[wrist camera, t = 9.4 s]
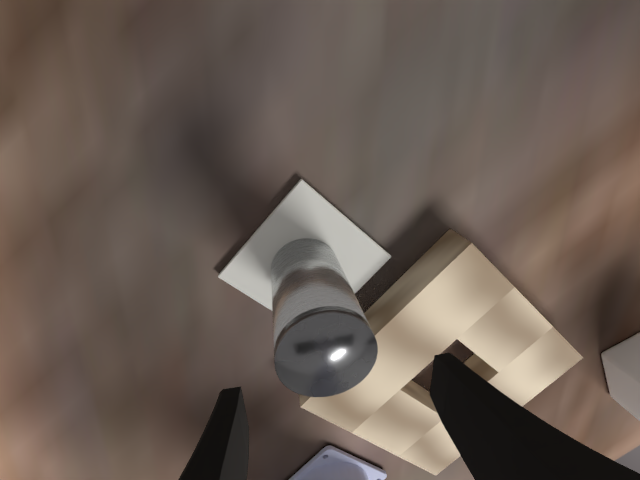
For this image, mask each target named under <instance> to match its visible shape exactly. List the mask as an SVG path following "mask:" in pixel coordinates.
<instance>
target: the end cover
mask: <svg viewBox="0 0 640 480" xmlns="http://www.w3.org/2000/svg"><path fill="white" fill-rule="evenodd" d="M271 288H272V312H273V335H274V359H275V369H276V373H277V375H278V377H279V379H280V380H281V382H282V383H283V384H284V385H285V386H286V387H287V388H289V389H290V390H292V391H293V392H296V393H298V394H301V395H304V396H309V397H328V396H333V395H337V394H340V393H343V392H345V391H347V390H349V389H351V388H353V387H354V386H356V385H357V384H359V383H360V382H361V381H362V380H363V379H364V378H365V377H366V376H367V375H368V374H369V373H370V371H371V370H372V368H373V366H374V364H375V362H376V359H377V353H378V346H377V341H376V338H375V336H374V334H373V331H372V329H371V327H370V325H369V323H368V321H367V319H366V317H365V315H364V313H363V311H362V309H361V307H360V304H359V302H358V300H357V298H356V296H355V294H354V292H353V290H352V288H351V286H350V284H349V282H348V279H347V277H346V275H345V273H344V271H343V269H342V267H341V265H340V263H339V261H338V259H337V257H336V255H335V253H334V251H333V250H332V249H331V248H330V247H329V246H328V245H327V244H326V243H324V242H322V241H320V240H317V239H312V238H302V239H297V240H294V241H291V242H289V243H287V244H286V245H284V246H283V247H282V248H281V249H280V250H279V251H278V252H277V253H276V255H275V256H274V258H273V261H272V264H271Z"/></svg>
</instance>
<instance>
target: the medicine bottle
mask: <svg viewBox="0 0 640 480" xmlns="http://www.w3.org/2000/svg"><path fill="white" fill-rule="evenodd" d="M601 357H602V362H603V366H604V371H605V375H606V379H607V384H608V388H609V393H610V396H611V397H612V398H613V399H614V400H615V401H616V402H618V403H619V404H620V405H621V406H622V407H624V408H625V409H626V410H627V411H628V412H630V413H631V414H632V415H633V416H634V417H635V418H637V419H638V420H639V421H640V332H639V333H637V334H635V335H633V336H632V337H630V338H628V339H626V340H624V341H622V342H621V343H619V344H617V345H615V346H613V347H611V348H610V349H608V350H606V351H604V352H602V353H601Z"/></svg>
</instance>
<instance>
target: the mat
mask: <svg viewBox="0 0 640 480" xmlns="http://www.w3.org/2000/svg"><path fill="white" fill-rule="evenodd" d="M302 238H312V239H317V240H320V241H322V242H324V243H326V244H327V245H328V246H329V247H330V248H331V249H332V250H333V251H334V253H335V255H336V257H337V259H338V261H339V263H340V265H341V267H342V269H343V271H344V273H345V275H346V277H347V279H348V282H349V284H350V286H351V288H352V290H353V292H354V294H355V293H356V292H357V291H358V290H359V289H360V288H361V287H362V286H363V285H364V284H365V283H366V282H367V281H368V280H369V279H370V278H371V277H372V276H373V275H374V274H375V273H376V272H377V271H378V270H379V269H380V268H381V267H382V266H383V265H384V264H385V263H386V262H387V261H388V260H389V259H390V258H391V255H390V254H389V253H388V252H386V251H385V250H384V249H383V248H382V247H381V246H379V245H378V244H377V243H376V242H375V241H374V240H372V239H371V238H370V237H369V236H368V235H367V234H365V233H364V232H363V231H362V230H361V229H360V228H359V227H357V226H356V225H355V224H354V223H353V222H352V221H350V220H349V219H348V218H347V217H346V216H345V215H343V214H342V213H341V212H340V211H339V210H338V209H336V208H335V207H334V206H333V205H332V204H331V203H329V202H328V201H327V200H326V199H325V198H324V197H322V196H321V195H320V194H319V193H318V192H317V191H315V190H314V189H313V188H312V187H311V186H310V185H308V184H307V183H306V182H305V181H304V180H303V179H302V178H301V179H300V180H299V181H298V183H297V184H296V185H295V186H294V187H293V188H292V190H291V191H290V192H289V193H288V194H287V195H286V197H285V198H284V199H283V200H282V201H281V202H280V203H279V205H278V206H277V207H276V208H275V209H274V210H273V212H272V213H271V214H270V215H269V216H268V217H267V219H266V220H265V221H264V222H263V223H262V224H261V226H260V227H259V228H258V229H257V230H256V231H255V233H254V234H253V235H252V236H251V237H250V238H249V240H248V241H247V242H246V243H245V244H244V245H243V246H242V248H241V249H240V250H239V251H238V252H237V253H236V255H235V256H234V257H233V258H232V259H231V260H230V262H229V263H228V264H227V265H226V266H225V267H224V269H223V270H222V271H221V272H220V273H219V275H218V277H219V278H220V279H222V280H224V281H225V282H227V283H228V284H230V285H232V286H233V287H235V288H236V289H238V290H240V291H241V292H243V293H244V294H246V295H248V296H249V297H251V298H252V299H254V300H256V301H257V302H259V303H260V304H262V305H264V306H265V307H267V308H268V309H270V310H272V288H271V264H272V261H273V258H274V256H275V255H276V253H277V252H278V251H279V250H280V249H281V248H282V247H283V246H284V245H286V244H287V243H289V242H291V241H294V240H297V239H302Z"/></svg>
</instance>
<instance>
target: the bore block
mask: <svg viewBox="0 0 640 480" xmlns="http://www.w3.org/2000/svg"><path fill="white" fill-rule="evenodd" d="M364 315H365V317H366V319H367V321H368V323H369V325H370V327H371V329H372V331H373V334H374V336H375V338H376V341H377V346H378V353H377V359H376V362H375V364H374V366H373V368H372V370H371V371H370V373H369V374H368V375H367V376H366V377H365V378H364V379H363V380H362V381H361V382H360V383H359V384H357V385H356V386H354V387H353V388H351V389H349V390H347V391H345V392H343V393H340V394H337V395H333V396H328V397H309V396H304V395H301V394H299V400H300V407H301V408H303V409H305V410H307V411H309V412H311V413H313V414H315V415H317V416H319V417H321V418H323V419H325V420H327V421H329V422H331V423H333V424H335V425H337V426H339V427H341V428H343V429H345V430H347V431H349V432H351V433H353V434H355V435H357V436H359V437H361V438H363V439H365V440H367V441H369V442H371V443H373V444H374V445H376V446H378V447H380V448H382V449H384V450H386V451H388V452H390V453H392V454H394V455H396V456H398V457H400V458H402V459H404V460H406V461H408V462H410V463H412V464H414V465H416V466H418V467H420V468H422V469H424V470H426V471H428V472H430V473H432V474H434V475H437V474H438V473H440V472H441V471H442V470H443V469H445V468H446V467H447V466H448V465H450V464H451V463H452V462H453V461H455V460H456V459H457V458H458V457H460V456H461V455H460V453H459V452H458V450H457V448H456V446H455V445H454V443H453V441H452V439H451V438H450V436H449V434H448V432H447V431H446V429H445V427H444V425H443V424H442V422H441V419H440V417H439V415H438V413H437V411H436V408H435V406H434V404H433V401H432V399H431V397H430V392H429V391H427V390H426V389H424V388H423V387H421V386H420V385H418V384H417V383H415V382H414V381H412V380H411V379H413V378H414V377H415V376H416V375H417V374H418V373H419V372H420V371H421V370H423V369H424V368H425V367H426V366H427V365H428V364H429V363H430V362H432V361H433V360H434V356H435V355H439V354H441V353H442V352H443V351H444V350H445V349H446V348H447V347H448V346H450V345H451V344H452V343H453V342H454V341H455V340H456V339H458V340H459V341H460V342H461V343H463V344H464V345H465V346H466V347H468V348H469V349H470V350H471V351H473V352H474V354H473V355H472V356H471V357H470V358H469V359H468V360H466V361H465V362H464V364H465V365H466V366H468V367H469V368H470V369H471V370H473V371H474V372H475V373H477V374H478V375H479V376H481V377H482V378H483V379H484V380H486V381H487V382H488V383H490V384H491V385H492V386H494V387H495V388H497V389H498V390H499V391H501V392H502V393H503V394H505V395H506V396H508V397H509V398H510V399H512V400H513V401H515V402H516V403H517V404H519V405H520V406H523V405H525V404H526V403H527V402H528V401H530V400H531V399H532V398H533V397H535V396H536V395H537V394H538V393H540V392H541V391H542V390H543V389H545V388H546V387H547V386H548V385H550V384H551V383H552V382H553V381H555V380H556V379H557V378H558V377H560V376H561V375H562V374H564V373H565V372H566V371H567V370H569V369H570V368H571V367H572V366H574V365H575V364H576V363H577V362H579V361H580V360H581V359H582V358H583V357H582V356H581V355H580V354H579V353H578V352H577V351H576V350H575V349H574V348H573V347H572V346H571V345H570V344H569V343H568V342H567V341H566V340H565V339H564V338H563V336H562V335H561V334H560V333H559V332H558V331H557V330H556V329H555V328H554V327H553V326H552V325H551V324H550V323H549V322H548V321H547V320H546V319H545V318H544V317H543V316H542V315H541V314H540V313H539V312H538V311H537V310H536V309H535V308H534V307H533V306H532V305H531V303H530V302H529V301H528V300H527V299H526V298H525V297H524V296H523V295H522V294H521V293H520V292H519V291H518V290H517V289H516V288H515V287H514V286H513V285H512V284H511V283H510V282H509V281H508V280H507V279H506V278H505V277H504V276H503V275H502V274H501V273H500V272H499V270H498V269H497V268H496V267H495V266H494V265H493V264H492V263H491V262H490V261H489V260H488V259H487V258H486V257H485V256H484V255H483V254H482V253H481V252H480V251H479V250H478V249H477V248H476V247H475V246H474V245H473V244H472V243H471V242H470V241H468V240H467V239H465V238H464V237H462V236H461V235H459V234H458V233H456V232H455V231H453V230H451V229H449V230H448V231H447V232H446V233H445V234H444V235H443V236H442V237H441V238H440V239H439V240H438V241H437V242H436V243H435V244H434V245H433V246H432V247H431V248H430V249H429V250H428V251H427V252H426V253H425V254H424V255H423V256H422V257H421V258H420V259H419V260H418V261H417V262H416V263H415V264H414V265H413V266H411V267H410V268H409V269H408V270H407V271H406V272H405V273H404V274H403V275H402V276H401V277H400V278H399V279H398V280H397V281H396V282H395V283H394V284H393V285H392V286H391V287H390V288H389V289H388V290H387V291H386V292H385V293H384V294H383V295H382V296H381V297H380V298H379V299H378V300H377V301H376V302H375V303H374V304H373V305H372V306H371V307H370V308H369V309H368V310H367V311H366V312H365V313H364Z"/></svg>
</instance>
